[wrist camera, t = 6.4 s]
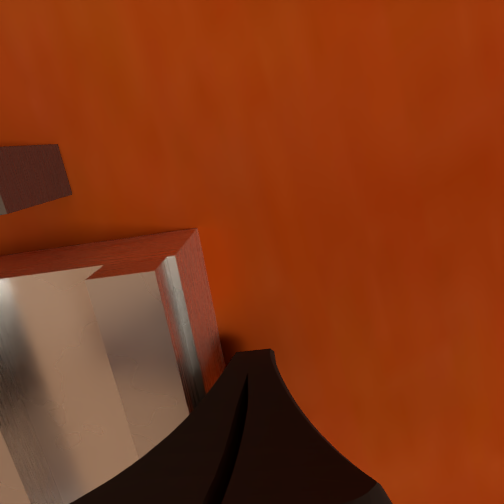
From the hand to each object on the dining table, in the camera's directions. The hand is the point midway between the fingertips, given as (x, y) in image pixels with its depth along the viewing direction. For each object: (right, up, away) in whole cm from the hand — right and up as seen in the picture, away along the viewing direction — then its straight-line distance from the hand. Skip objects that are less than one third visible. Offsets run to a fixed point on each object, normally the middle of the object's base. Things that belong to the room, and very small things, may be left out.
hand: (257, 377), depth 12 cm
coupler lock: (-5, 0, +2) cm, 5 cm away
